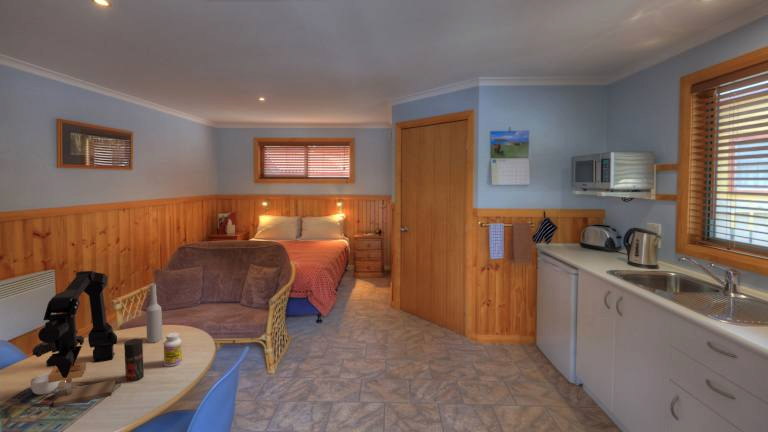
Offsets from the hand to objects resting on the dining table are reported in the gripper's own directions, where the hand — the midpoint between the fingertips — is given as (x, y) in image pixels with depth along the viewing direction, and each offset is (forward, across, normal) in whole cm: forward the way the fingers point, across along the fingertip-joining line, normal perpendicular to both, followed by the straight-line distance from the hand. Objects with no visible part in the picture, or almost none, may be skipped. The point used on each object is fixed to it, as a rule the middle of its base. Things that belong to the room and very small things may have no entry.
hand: (67, 373), depth 130 cm
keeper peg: (+8, 0, 0) cm, 8 cm away
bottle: (+10, -43, +23) cm, 50 cm away
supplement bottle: (+10, -13, +32) cm, 36 cm away
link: (+1, 0, 0) cm, 1 cm away
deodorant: (+10, -6, +19) cm, 22 cm away
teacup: (+10, -10, -8) cm, 16 cm away
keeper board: (+9, 0, +5) cm, 11 cm away
